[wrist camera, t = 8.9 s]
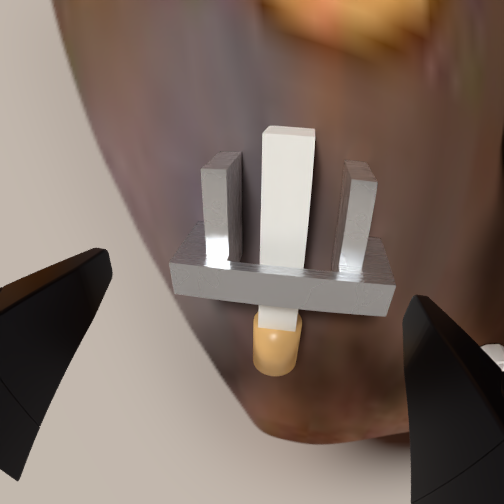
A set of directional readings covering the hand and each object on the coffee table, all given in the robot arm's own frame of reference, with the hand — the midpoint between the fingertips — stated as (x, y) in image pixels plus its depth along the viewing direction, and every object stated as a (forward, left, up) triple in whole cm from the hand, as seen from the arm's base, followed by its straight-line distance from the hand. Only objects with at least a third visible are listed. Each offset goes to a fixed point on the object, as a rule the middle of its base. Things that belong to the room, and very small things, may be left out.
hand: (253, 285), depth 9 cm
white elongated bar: (0, +5, -10) cm, 12 cm away
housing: (0, +2, -10) cm, 10 cm away
